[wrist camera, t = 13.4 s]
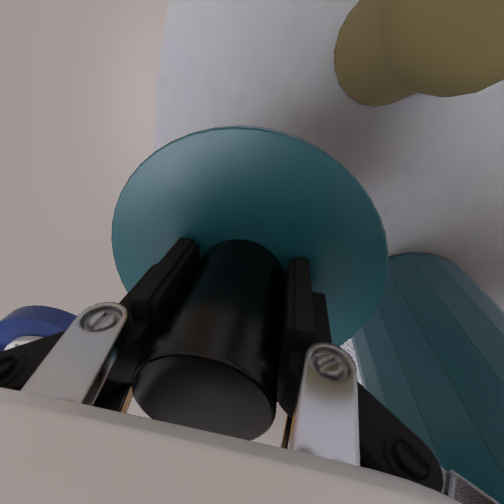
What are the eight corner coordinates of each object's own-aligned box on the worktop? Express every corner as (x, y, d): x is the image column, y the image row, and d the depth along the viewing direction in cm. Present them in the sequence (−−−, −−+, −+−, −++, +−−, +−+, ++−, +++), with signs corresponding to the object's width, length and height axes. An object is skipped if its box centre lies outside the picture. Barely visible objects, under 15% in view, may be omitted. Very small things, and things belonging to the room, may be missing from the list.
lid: (139, 327, 16) (46, 462, 10) (108, 104, 10) (-165, 110, 4) (338, 366, 15) (364, 538, 9) (429, 147, 9) (670, 232, 3)
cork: (424, 106, 17) (582, 112, 8) (327, 106, 18) (364, 112, 8) (458, -23, 14) (783, -269, 5) (342, -16, 15) (423, -219, 6)
